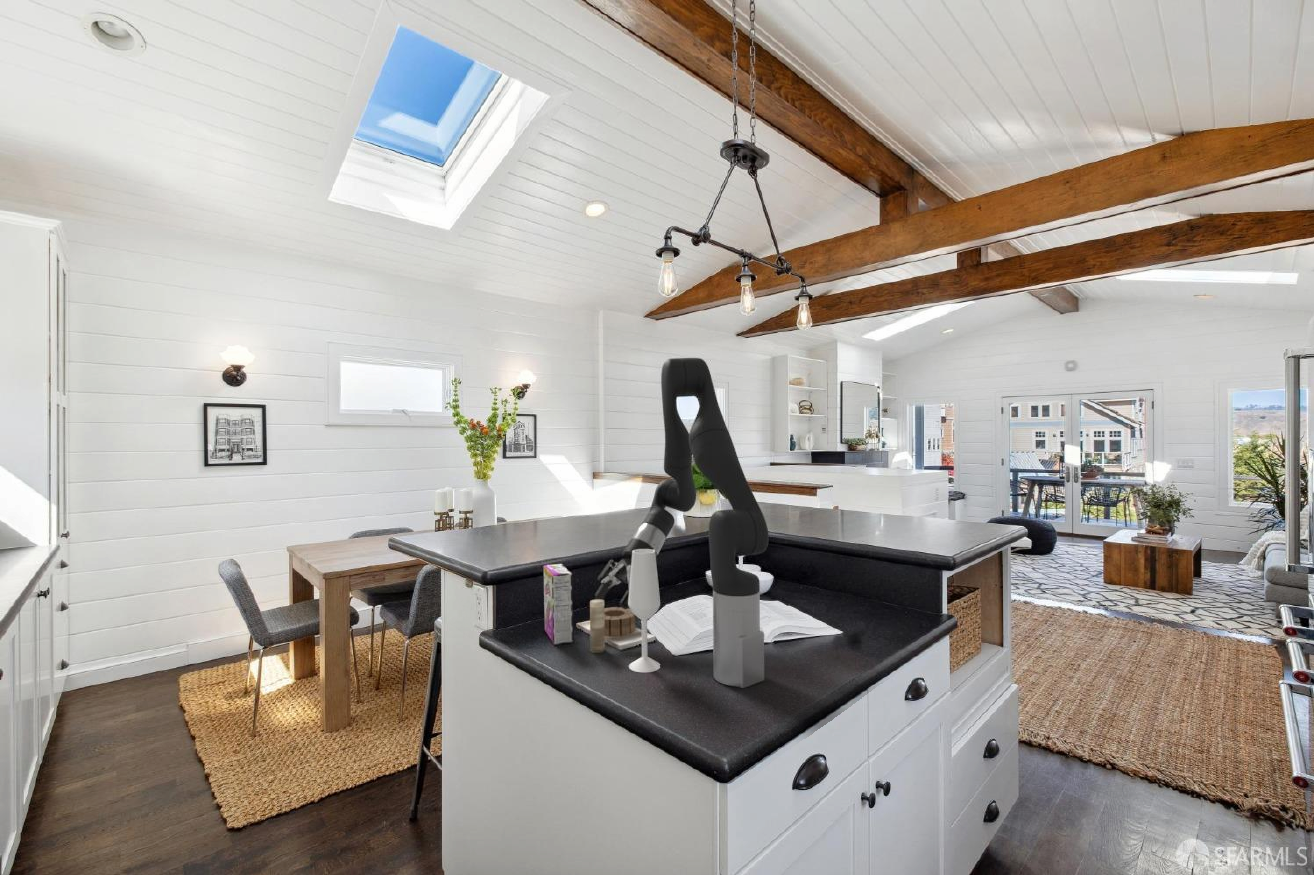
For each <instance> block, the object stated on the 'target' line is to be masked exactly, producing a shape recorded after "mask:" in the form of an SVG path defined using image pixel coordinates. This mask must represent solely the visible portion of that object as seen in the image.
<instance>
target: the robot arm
mask: <svg viewBox="0 0 1314 875" xmlns="http://www.w3.org/2000/svg"><path fill="white" fill-rule="evenodd" d="M660 376H661V377H660V384H661V386H660V388H661V399H662V400H661V401H662V414H663V426H664V452H663V453H664V455H663V456H664V457H663V471H664V473H665V474H666V475H667V476H669V477H671V478H672V479H669V478H665V479H664V480H663V479H662V481H660V482H659V483H658V484H657V485H656V489H655V492H654V494H653V495H654V496H653V500H652V503H651V505H650V509H649V511H648V513H647V515H646V517H645V518H644V519H643V521H642V523H641V524H640V526H639V527H638V528H637V529H636V531H635V532H634V533H633V535H632V537H631V538H630V540H629V541H628V543H627V544H626V546H625V548H624V550H623V551H622V552H621V559H620V561H619V562H615V561H614V560H613V559H609V560H608V562H607V564H606V565H605V566H604V568H603V570H602V571H601V572H600V573H599V575H598V577H597V580H598V581H599V582H600V585H599V588H598V589H597V591H596V592H595V593H594V600H596V599H600V600H604V599H605V597H606V595H607V593H609V590H610V589H611V588H612V587H613V586H615V585H616V586H618V585H619V584H627V585H628V588H629V587H630V575H631V563H632V551H633V550H637V549H651V550H655V555H656V557H657V556H658V555H659V553H660V551H661V549H662V547H663V546H664V543H665V541H666V539H667V537H668V536H669V534H670V533H671V531H672V529H673V527H674V525H675V522H676V521H675V517H674V516H673V514H671V513H670V511H668V510H667V509H666V508H670V509H673V510H676V511H679V512H683V513H687V512H689V511H691V510H692V509H693V508H694V506H695V504H696V501H697V489H696V486H695V485H696V484H695V480H694V476H693V475H694V474H693V469H692V462H693V460H694V464H695V466H696V468H697V469H698V471H699V472H700V474H702V475H703V476H704V477H705V478H706V479H707V481H709V482H710V483H711V484H713V486H715V487H716V489H717V490H719V491H720V492H721V493H722V494H723V495H724V497H725V498H726V499H727V501H728V502H729V504H730V506H731V508H732V509H721V510H719V509H718V510H716V511H714V512H713V513H712V514H711V517H710V519H709V524H708V546H709V560H710V561H709V563H710V575H711V580H712V634H713V635H712V643H713V644H712V650H713V651H712V652H713V654H712V655H713V656H712V658H713V659H712V660H713V668H712V669H713V679H715V680H716V681H717V682H718V683H721V684H722V685H727V686H731V687H738V688H741V689H744V688H747V687H750V686H752V685H756V684H758V683H760V682H764V681H765V633H764V631H763V630H761V618H760V617H761V613H760V612H761V611H760V610H761V609H760V608H761V607H760V606H761V600H760V598H761V594H760V593H761V592H760V591H761V590H760V588H761V587H760V586H761V585H760V583H761V582H760V579H759V576H758V575H757V574H754V573H752V572H749V571H746V570H742V569H740V568H738V567H737V563H736V557H744V556H755V555H760V554H762V553H764V552H765V551H766V550H767V548H768V545H769V539H770V538H769V536H770V535H769V529H768V525H767V521H766V519H765V516H764V514H763V512H762V509H761V507H760V505H759V503H758V501H757V499H756V497H755V495H754V493H753V491H752V489H751V487H750V485H749V482H748V480H747V478H746V475H745V473H744V470H743V468H742V466H741V463H740V460H739V457H738V454H737V451H736V448H735V444H734V441H733V439H732V436H731V434H730V432H729V430H728V427H727V425H726V422H725V419H724V417H723V414H722V411H721V407H720V404H719V401H718V399H717V394H716V390H715V387H714V381H713V379H712V378H713V377H712V375H711V372H710V368H709V366H708V363H707V362H706V361H705V360H704V359H702V358H699V357H677V358H676V357H675V358H667V359H666V360H665V361H664V362H663V364H662V368H661V375H660ZM682 397H683V398H684V397H686V398H687V397H695V398H696V399H697V402H698V405H699V408H698V411H697V414H696V416H695V418H694V421H693V423H692V425H691V428H690V430H688V429H687V428H686V425H685V424H684V423H683V420H682V418H681V416H680V414H679V410H678V407H677V406H678V404H677V401H678V400H677V398H682ZM673 479H674V480H673ZM609 581H610V582H609ZM628 599H629V589H627V590H626V591H625V593H624V594H623V596H622V598H621V600H620V601H619V604H618V605H619V607H622V608H623V609H628V608H629V606H628Z"/></svg>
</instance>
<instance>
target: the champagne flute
mask: <svg viewBox="0 0 1314 875" xmlns="http://www.w3.org/2000/svg"><path fill="white" fill-rule="evenodd" d="M658 576H659V574H658V568H657V556H656V555H655V550H651V549H637V550H633V551H632V563H631V575H630V587H629V586H628V591H629V599H628V606H629V607H628V609H630V610H631V611H632V612H633V613H634V614H635V617H637V618H638V619H639V620H641V630H642V644H641V656H640V657H639V658H638V659H635V661H632V662H631V663H629V665H628V669H629V670H631V671H633V672H637V673H652V672H655V671H658V670H659V669H661V667H660V665H661V664H660V663H659V662H658V661H656V660H654V659H652V658H651V657H649V656H648V643H647V633H648V620H649V619H651V618H652V617H653V616H654V615H655V614H656V613H657V611H658V610H659V608H660V607H661V599H660V597H661V596H660V595H661V594H660V588H659V578H658Z"/></svg>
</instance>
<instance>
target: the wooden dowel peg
mask: <svg viewBox="0 0 1314 875" xmlns="http://www.w3.org/2000/svg"><path fill="white" fill-rule="evenodd" d="M604 608H605V600H604V599H603V600H600V599H591V600H590V601H589V621H590V634H589V641H590V646H589V648H590V650H589V651H590V652H591V653H593V654H594V653H595V654H600V653H603V652H604V651H605V649H606V648H605V647H606V644H605V620H604Z"/></svg>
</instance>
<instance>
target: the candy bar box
mask: <svg viewBox="0 0 1314 875" xmlns="http://www.w3.org/2000/svg"><path fill="white" fill-rule="evenodd" d="M572 583H573V574H572V572H571V571H570V570H569V569H567V567H566V566H565V565H564V564H563V563H556V564H555V563H554V564H545V565H543V596H544V597H543V599H544V600H543V601H544V602H543V605H544V606H543V607H544V608H543V609H544V632H545V633H546V635H547V636H548V638H549V639H550V640H551V643H552V644H553V645H562V643H564V644H568V643H570V644H571V643H573V642H574V637H573V636H574V635H573V634H574V631H573V630H574V624H573V621H574V620H573V585H572Z"/></svg>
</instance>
